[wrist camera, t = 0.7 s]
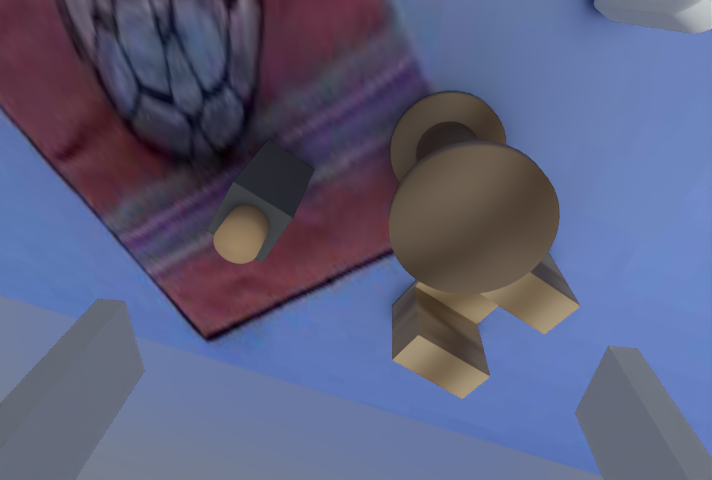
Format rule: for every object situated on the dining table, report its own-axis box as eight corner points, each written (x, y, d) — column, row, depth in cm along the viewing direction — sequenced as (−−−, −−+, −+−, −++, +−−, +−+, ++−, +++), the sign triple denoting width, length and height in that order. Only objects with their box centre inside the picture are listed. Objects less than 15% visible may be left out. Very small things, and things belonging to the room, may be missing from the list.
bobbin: (369, 160, 32) (357, 243, 22) (438, 66, 28) (463, 110, 18) (452, 217, 34) (478, 317, 23) (527, 135, 30) (597, 211, 20)
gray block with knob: (244, 180, 33) (190, 250, 25) (268, 139, 32) (218, 199, 23) (289, 207, 34) (251, 284, 25) (314, 169, 33) (283, 237, 24)
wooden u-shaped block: (392, 305, 39) (392, 360, 33) (484, 208, 33) (503, 254, 27) (452, 340, 40) (462, 398, 34) (550, 254, 35) (580, 306, 29)
